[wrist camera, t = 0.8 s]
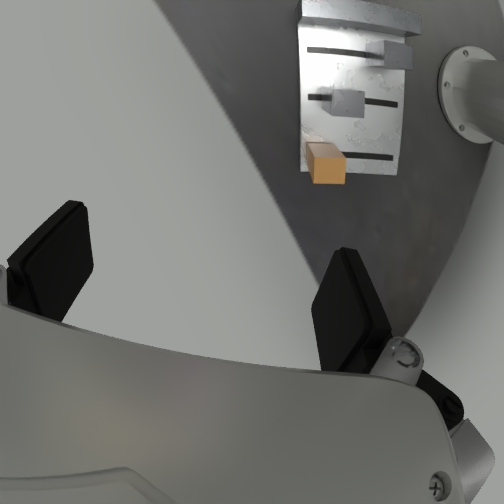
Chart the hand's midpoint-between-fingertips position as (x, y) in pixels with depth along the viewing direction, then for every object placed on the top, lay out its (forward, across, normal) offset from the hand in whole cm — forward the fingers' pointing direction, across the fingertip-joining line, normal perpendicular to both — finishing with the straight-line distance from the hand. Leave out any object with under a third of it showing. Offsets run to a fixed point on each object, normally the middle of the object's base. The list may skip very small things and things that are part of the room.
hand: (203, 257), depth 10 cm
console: (+23, -10, -8) cm, 26 cm away
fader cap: (+21, -9, 0) cm, 22 cm away
